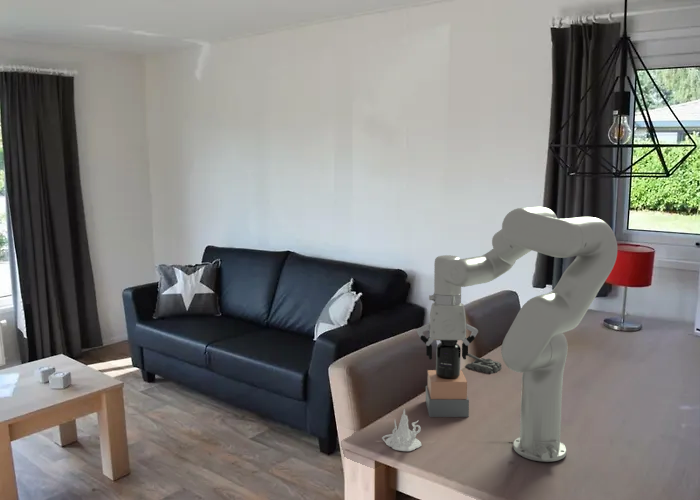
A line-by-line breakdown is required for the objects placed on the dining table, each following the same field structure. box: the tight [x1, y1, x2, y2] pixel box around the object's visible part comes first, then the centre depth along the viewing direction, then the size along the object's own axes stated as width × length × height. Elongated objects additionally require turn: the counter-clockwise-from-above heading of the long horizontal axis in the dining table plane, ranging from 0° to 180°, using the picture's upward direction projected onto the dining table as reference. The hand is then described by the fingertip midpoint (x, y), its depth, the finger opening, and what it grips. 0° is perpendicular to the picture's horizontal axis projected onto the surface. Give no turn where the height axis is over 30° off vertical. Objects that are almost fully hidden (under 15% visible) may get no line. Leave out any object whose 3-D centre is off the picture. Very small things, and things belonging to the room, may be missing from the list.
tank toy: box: [464, 352, 502, 375], centre depth 207 cm, size 12×10×5 cm
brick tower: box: [425, 369, 470, 418], centre depth 172 cm, size 11×11×10 cm
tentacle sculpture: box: [381, 408, 422, 452], centre depth 151 cm, size 9×12×9 cm
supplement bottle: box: [435, 340, 462, 379], centre depth 171 cm, size 7×7×12 cm
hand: (446, 358), depth 171 cm, fingers open, 9 cm apart
